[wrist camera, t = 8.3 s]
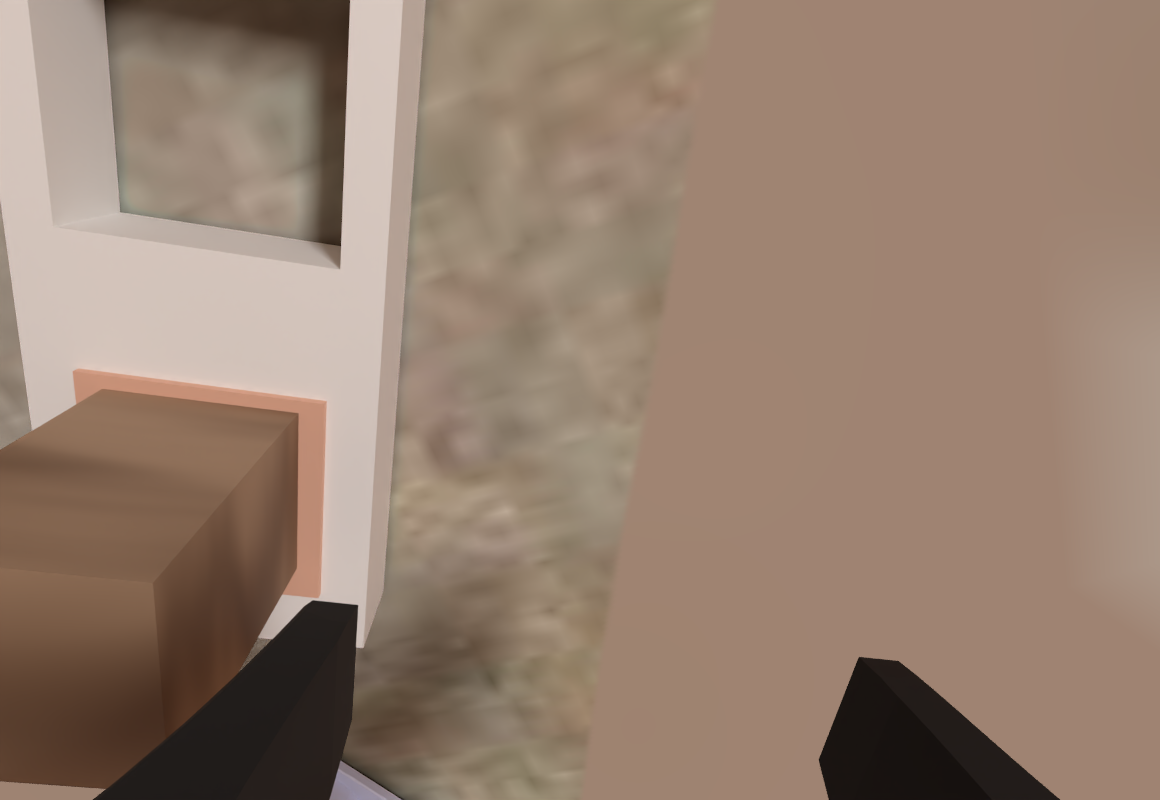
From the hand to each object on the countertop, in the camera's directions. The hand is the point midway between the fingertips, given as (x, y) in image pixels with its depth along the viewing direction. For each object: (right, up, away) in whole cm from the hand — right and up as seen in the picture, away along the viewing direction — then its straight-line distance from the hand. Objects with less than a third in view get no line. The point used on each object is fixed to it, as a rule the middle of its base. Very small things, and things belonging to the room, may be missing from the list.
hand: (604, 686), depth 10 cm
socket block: (-9, +7, +8) cm, 14 cm away
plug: (-10, +2, +7) cm, 12 cm away
